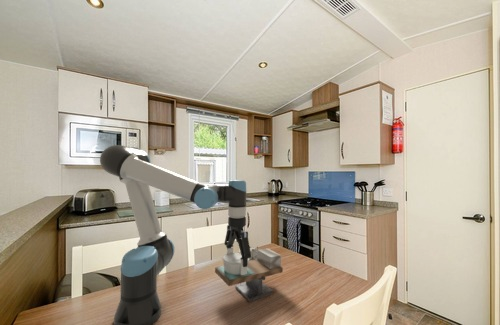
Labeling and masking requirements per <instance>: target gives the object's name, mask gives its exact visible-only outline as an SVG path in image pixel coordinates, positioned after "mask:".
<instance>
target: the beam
mask: <svg viewBox="0 0 500 325" xmlns="http://www.w3.org/2000/svg"><path fill="white" fill-rule="evenodd" d="M281 262H282V255H281V254H280V253H277V252H276V251H274V250H271V249H270V248H269V247H267V248H262V249H261V248H260V249H258V254H257V259H255V260H250V261H249V262H248V267H247V274H244V275H232V274H229V273H227V272H226V271H225V270H224V265H221V266H215V268H214V273H215V274H216V275H217V276H218V277H219V278H220V279H221V280H223V282H224V283H225V284H226V285H227V286H228V287H231V286H236V285H238V284H241V283H244V282H247V281H251V280H255V279H259V278H261V279H262V281H265V280H266V277H270V276H273V275H277V274H281V273H283V270H284V268H283V267H282V264H281Z"/></svg>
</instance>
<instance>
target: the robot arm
mask: <svg viewBox="0 0 500 325" xmlns="http://www.w3.org/2000/svg"><path fill="white" fill-rule="evenodd" d="M99 163H100V166H101V168H102V169H103V170H104V171H105V172H106V173H108V174H110V175H113V176H116V177H118V178H119V182H121V183H122V184H124V185H125V187H126V192H127V196H128V199H129V204H130V207H131V209H132V214H133V218H134V221H135V225H136V228H137V234H138V236H139V240H138V242H137V247H136V248H132V249H130V250H129V251H126V253H125V254H124V255H123V257H122V259H121V265H120V298H119V299H120V300H119V303H118V305H117V308H116V310H115V314H114V318H113V325H153V324H154V323H155V322H156V321H157V320H159V318H160V316H161V314H162V303H161V300H160V297H159V295H158V291H157V290H158V289H157V288H158V287H157V284H158V283H157V281H158V275H159V274H160V273H161V272H162V271H163V270H164V269H165V267H167V266H168V265H170V262H171V260H172V259H173V258H174V255H175V245H174V243H173V241H172V240H171V239H170V238H168V235H167V233H166V232H165V231H162V227H161V225H160V221H159V217H158V213H157V210H156V206H155V203H154V199H153V196H152V192H151V188H150V187H152V188H155V189H157V190H161V191H163V192H165V193H168V194H171V195H172V196H176V197H177V198H181V199H184V200H186V201H188V202H191V203H193V204H195V205H196V206H197V207H198V208H199V209H201V210H207V209H211V208H213V207H214V206H216V205H217V203H228V206H227V207H228V208H227V209H228V217H227V218H228V221H227V223H228V225H227V226H226V235H225V237H224V238H225V239H224V246H225V248H226V254H229V253H234V243H235V240H236V243H238V248H239V251H240V253H241V256H242V258H241V271H240V275H244V274H247V265H248V258H251V252H250V247H251V246H250V242H249V233H248V231H245V230H244V227H246V225H247V217H246V216H247V182H246V181H245V180H244V179H230V180H228V183H227V184H213V183H212V184H211V183H208V184H207V183H206V184H204V183H202V182H198V181H197V180H194V179H192V178H191V179H190V178H188V177H186V176H183V175H180V174H178V173H175V172H173V171H170V170H168V169H165V168H162V167H160V166H158V165H155V164H152V163H151V159H150V156H149V154H148V153H147V152H146V151H144V149H141V148H138V147H134V146H125V145H121V144H117V145H116V144H115V145H110V146H108V147H107V148H105V149H104V150H102V152H101V154H100V157H99ZM249 246H250V247H249Z"/></svg>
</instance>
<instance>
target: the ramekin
mask: <svg viewBox="0 0 500 325" xmlns="http://www.w3.org/2000/svg"><path fill="white" fill-rule="evenodd" d="M241 258H242V256H241V252H240V253H239V252H233V253H229V254H227V253H226V254H224V255H223V257H222V261H223V266H224V270H225V271H226V272H227V273H229V274H232V275H240V271H241ZM248 262H249V258H248ZM247 267H248V265H247Z"/></svg>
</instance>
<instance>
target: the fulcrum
mask: <svg viewBox="0 0 500 325" xmlns="http://www.w3.org/2000/svg"><path fill="white" fill-rule="evenodd" d="M235 289H236V290H237V291H238V292H239V293H240V294H241V295H242V296H243V298H245V299H246V300H247V301H248V302H250V303H251V302H253V301H257V300H259V299H262V298H263V297H267V296H269V295H272V294H273V293H274V290H273V289H272V288H270V286H268V285H266V284H265V283H264V282H263V280H262V279H261V278H259V279H255V280H251V281H247V282H243V283H239V284H235Z"/></svg>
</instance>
